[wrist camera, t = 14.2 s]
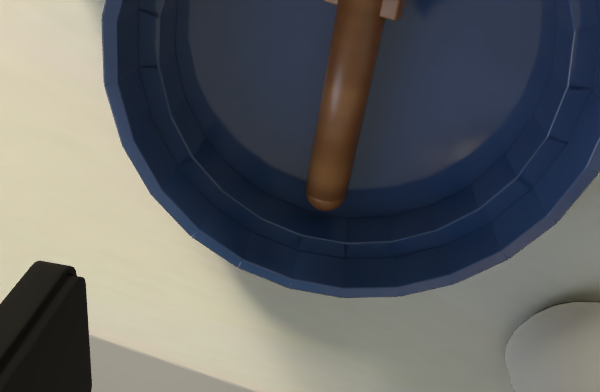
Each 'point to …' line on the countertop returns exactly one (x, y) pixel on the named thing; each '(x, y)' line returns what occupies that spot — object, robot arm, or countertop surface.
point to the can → (557, 350)
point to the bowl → (373, 137)
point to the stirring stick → (345, 96)
